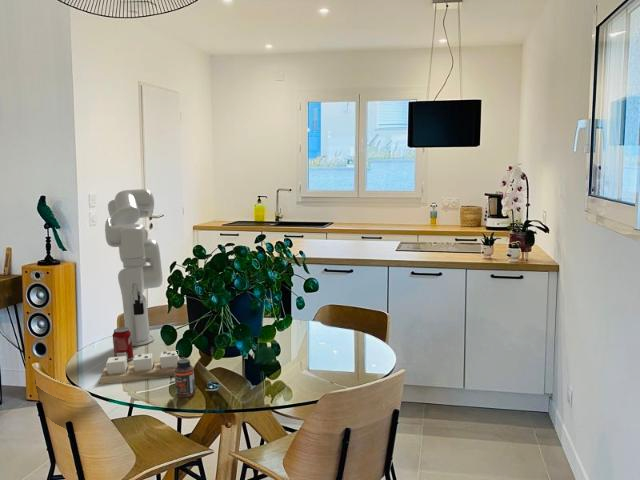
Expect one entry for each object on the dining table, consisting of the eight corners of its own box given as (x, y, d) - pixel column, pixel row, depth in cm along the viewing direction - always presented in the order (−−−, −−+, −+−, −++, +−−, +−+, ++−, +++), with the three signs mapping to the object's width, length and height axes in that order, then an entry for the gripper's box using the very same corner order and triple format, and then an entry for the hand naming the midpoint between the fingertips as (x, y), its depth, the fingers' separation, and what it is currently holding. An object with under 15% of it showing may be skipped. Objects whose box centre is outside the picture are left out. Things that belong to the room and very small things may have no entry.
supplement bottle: (173, 398, 192) (170, 363, 191) (180, 391, 198) (178, 357, 196) (191, 398, 191) (188, 363, 189) (198, 391, 197) (195, 357, 195)
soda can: (127, 363, 229) (125, 331, 227) (111, 362, 230) (108, 331, 229) (136, 357, 236) (134, 326, 234) (120, 356, 237) (117, 326, 235)
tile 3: (162, 362, 221) (160, 351, 220) (179, 361, 222) (178, 349, 221) (160, 368, 215) (159, 356, 214) (178, 366, 216) (177, 354, 215)
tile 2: (136, 365, 219) (135, 354, 219) (153, 363, 220) (152, 352, 220) (134, 371, 213) (133, 359, 213) (152, 369, 214) (151, 357, 214)
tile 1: (109, 368, 217) (108, 356, 217) (127, 366, 219) (126, 355, 218) (107, 374, 212) (106, 362, 211) (125, 372, 213) (124, 360, 212)
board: (106, 371, 221) (105, 366, 221) (185, 362, 226) (184, 357, 226) (100, 383, 208) (99, 378, 208) (184, 374, 213) (183, 369, 213)
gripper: (125, 260, 218) (130, 310, 221) (120, 266, 204) (125, 320, 206) (147, 258, 220) (151, 308, 222) (143, 264, 205) (148, 318, 207)
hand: (139, 314), depth 214 cm, fingers closed
